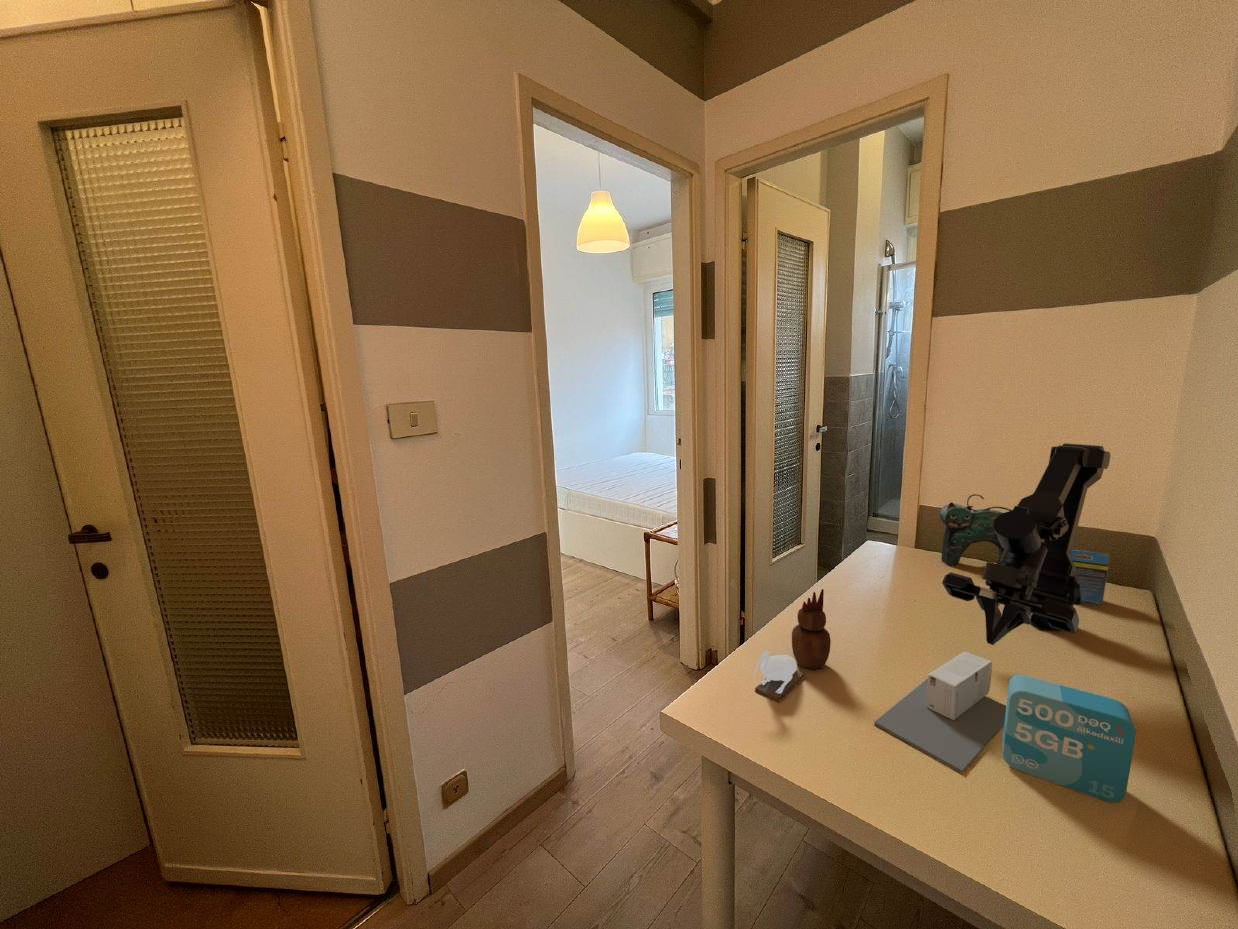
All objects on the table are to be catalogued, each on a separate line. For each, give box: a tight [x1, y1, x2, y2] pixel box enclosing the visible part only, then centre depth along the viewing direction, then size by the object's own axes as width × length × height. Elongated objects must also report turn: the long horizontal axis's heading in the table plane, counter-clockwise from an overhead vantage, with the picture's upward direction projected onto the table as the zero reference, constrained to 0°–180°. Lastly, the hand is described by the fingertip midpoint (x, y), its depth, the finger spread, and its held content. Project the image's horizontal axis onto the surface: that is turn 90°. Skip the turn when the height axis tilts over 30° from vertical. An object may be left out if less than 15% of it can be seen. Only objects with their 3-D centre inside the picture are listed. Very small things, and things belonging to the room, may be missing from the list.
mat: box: [873, 678, 1006, 774], centre depth 77 cm, size 20×12×1 cm, turn 125°
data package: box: [1002, 674, 1137, 804], centre depth 65 cm, size 12×4×12 cm, turn 53°
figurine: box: [753, 650, 806, 703], centre depth 85 cm, size 14×4×9 cm, turn 135°
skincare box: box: [926, 651, 993, 720], centre depth 80 cm, size 6×4×12 cm
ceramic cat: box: [939, 493, 1012, 567], centre depth 134 cm, size 20×6×20 cm, turn 81°
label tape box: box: [1068, 549, 1110, 606], centre depth 113 cm, size 9×4×12 cm, turn 58°
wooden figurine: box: [791, 588, 832, 670], centre depth 91 cm, size 7×6×15 cm
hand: (989, 643), depth 85 cm, fingers closed
